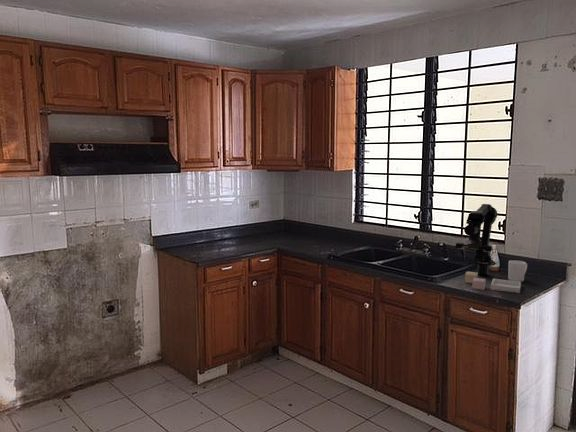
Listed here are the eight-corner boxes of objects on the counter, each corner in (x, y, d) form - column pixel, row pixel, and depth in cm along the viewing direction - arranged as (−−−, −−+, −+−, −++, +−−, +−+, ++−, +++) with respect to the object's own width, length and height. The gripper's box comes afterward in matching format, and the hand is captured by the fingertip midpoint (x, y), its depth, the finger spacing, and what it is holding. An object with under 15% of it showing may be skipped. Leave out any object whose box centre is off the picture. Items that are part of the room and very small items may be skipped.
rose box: (473, 285, 261) (473, 277, 261) (485, 287, 259) (485, 279, 258) (472, 288, 256) (472, 280, 256) (484, 290, 253) (484, 281, 253)
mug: (514, 282, 267) (515, 264, 266) (504, 278, 276) (505, 260, 275) (531, 281, 270) (532, 263, 268) (520, 277, 278) (522, 259, 277)
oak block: (466, 280, 272) (466, 271, 272) (477, 281, 270) (477, 272, 269) (464, 282, 267) (465, 274, 266) (476, 284, 264) (476, 275, 264)
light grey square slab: (492, 282, 266) (493, 278, 266) (520, 286, 260) (520, 281, 259) (490, 289, 254) (490, 284, 253) (519, 293, 247) (520, 288, 247)
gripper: (455, 233, 262) (452, 262, 263) (491, 237, 254) (489, 266, 255) (457, 232, 272) (455, 259, 273) (493, 235, 264) (490, 263, 265)
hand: (472, 262), depth 266 cm, fingers open, 9 cm apart
